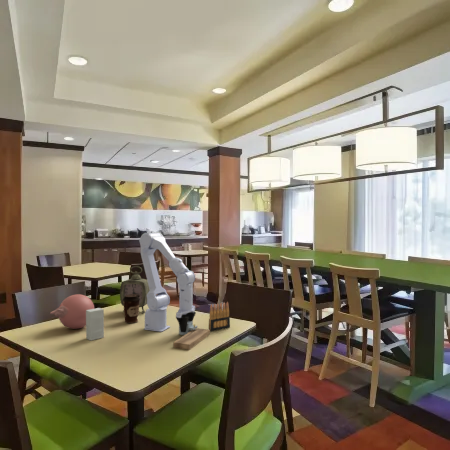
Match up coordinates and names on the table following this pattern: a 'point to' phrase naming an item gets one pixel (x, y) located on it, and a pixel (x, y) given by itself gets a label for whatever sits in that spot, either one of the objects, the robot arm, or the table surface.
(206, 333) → the board
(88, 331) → the skincare box
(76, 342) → the table surface
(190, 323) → the grey stepped block
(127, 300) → the coffee cup
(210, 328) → the ammunition clip
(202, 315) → the table surface
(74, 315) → the balloon
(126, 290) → the tabletop clock
